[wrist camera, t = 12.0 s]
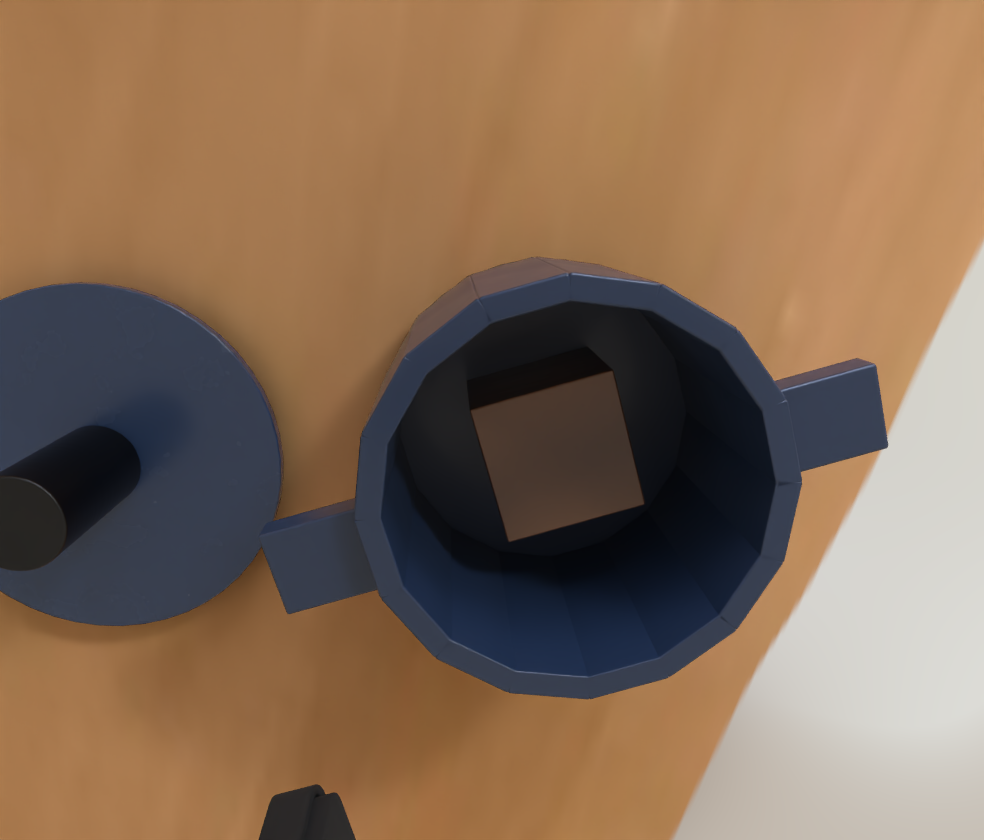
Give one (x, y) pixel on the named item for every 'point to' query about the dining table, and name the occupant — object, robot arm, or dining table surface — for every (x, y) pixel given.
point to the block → (554, 443)
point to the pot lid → (127, 456)
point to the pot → (590, 544)
